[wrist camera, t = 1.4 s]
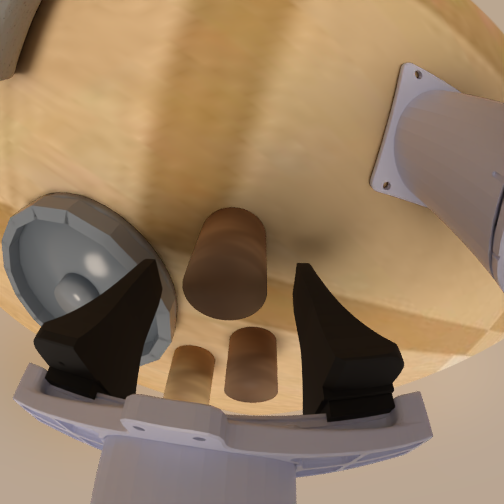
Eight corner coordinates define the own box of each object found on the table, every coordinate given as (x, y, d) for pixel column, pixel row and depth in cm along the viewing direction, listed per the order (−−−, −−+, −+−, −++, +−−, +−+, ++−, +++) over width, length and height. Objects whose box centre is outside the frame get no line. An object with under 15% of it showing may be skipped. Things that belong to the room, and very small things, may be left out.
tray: (179, 206, 16) (167, 225, 14) (179, 362, 25) (175, 381, 23) (1, 187, 14) (-17, 199, 13) (46, 323, 24) (38, 338, 22)
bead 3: (281, 330, 22) (283, 382, 17) (270, 356, 24) (270, 404, 20) (232, 323, 21) (227, 377, 17) (227, 351, 24) (222, 399, 19)
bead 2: (272, 213, 16) (275, 264, 12) (259, 267, 18) (258, 325, 14) (204, 202, 16) (183, 249, 11) (199, 257, 18) (182, 312, 14)
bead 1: (216, 349, 23) (209, 397, 19) (213, 370, 26) (207, 413, 22) (173, 341, 23) (161, 388, 19) (175, 363, 25) (165, 405, 21)
